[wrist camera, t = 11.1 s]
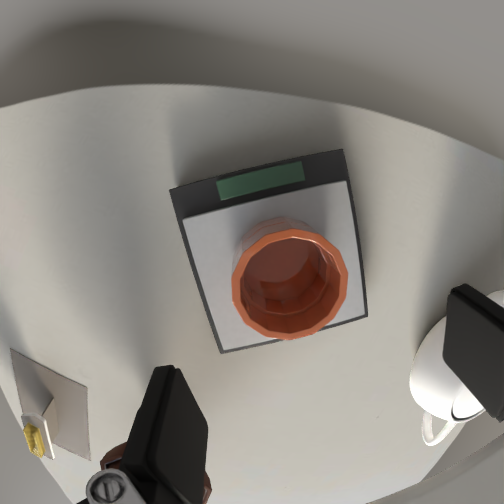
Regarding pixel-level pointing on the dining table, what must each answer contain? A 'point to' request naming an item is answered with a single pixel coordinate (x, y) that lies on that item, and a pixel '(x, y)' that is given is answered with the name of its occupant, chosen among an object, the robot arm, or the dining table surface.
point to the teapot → (442, 384)
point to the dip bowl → (287, 279)
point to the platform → (51, 409)
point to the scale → (260, 209)
